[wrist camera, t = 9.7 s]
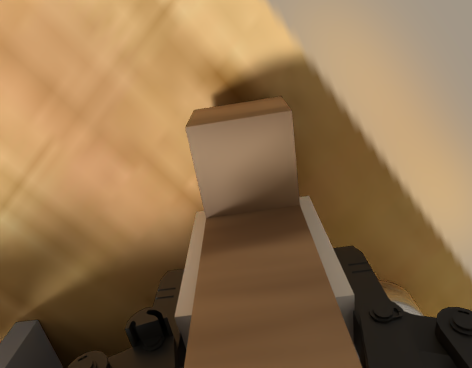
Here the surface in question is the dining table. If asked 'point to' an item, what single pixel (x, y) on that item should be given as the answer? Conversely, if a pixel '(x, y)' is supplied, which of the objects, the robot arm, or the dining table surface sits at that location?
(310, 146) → the dining table surface
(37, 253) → the dining table surface
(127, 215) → the dining table surface
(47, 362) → the cabinet
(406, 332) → the robot arm
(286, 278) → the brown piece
